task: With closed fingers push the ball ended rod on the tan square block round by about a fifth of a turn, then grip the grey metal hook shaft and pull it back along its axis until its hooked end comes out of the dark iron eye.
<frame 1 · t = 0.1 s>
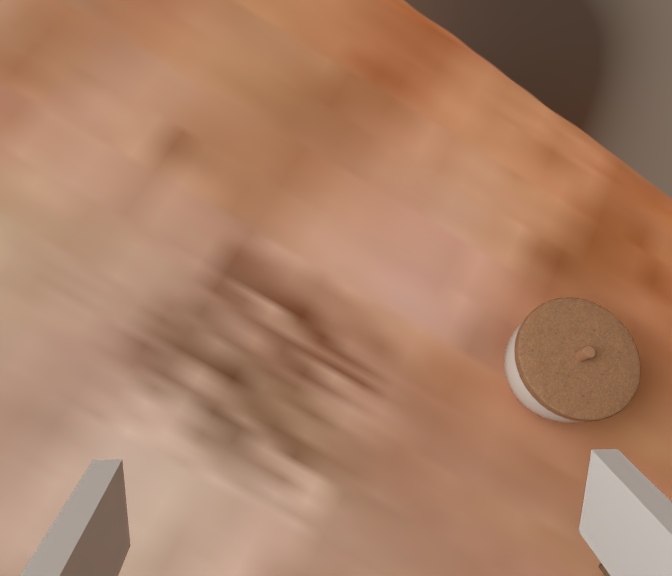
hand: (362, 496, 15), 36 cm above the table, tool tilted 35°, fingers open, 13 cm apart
lidded jar: (541, 375, 55), on the table
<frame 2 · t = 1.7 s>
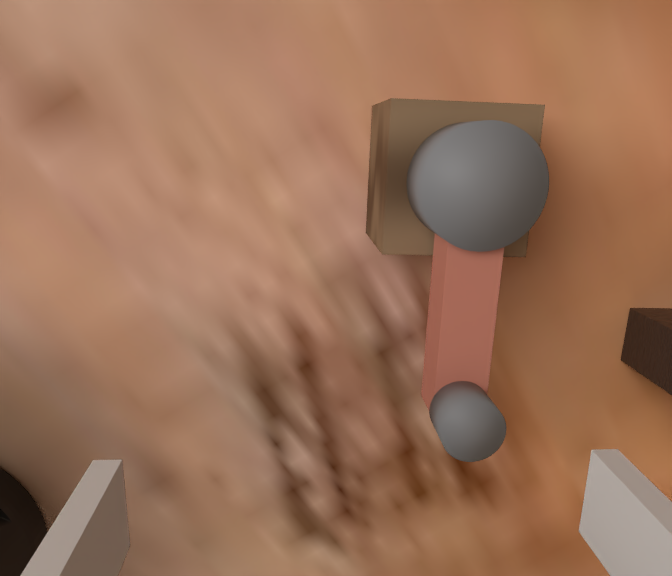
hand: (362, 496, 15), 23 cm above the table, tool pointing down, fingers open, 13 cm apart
tan square block: (430, 173, 36), on the table
ball ended rod: (469, 288, 28), point 10 cm above the table, hinge at 0.0°
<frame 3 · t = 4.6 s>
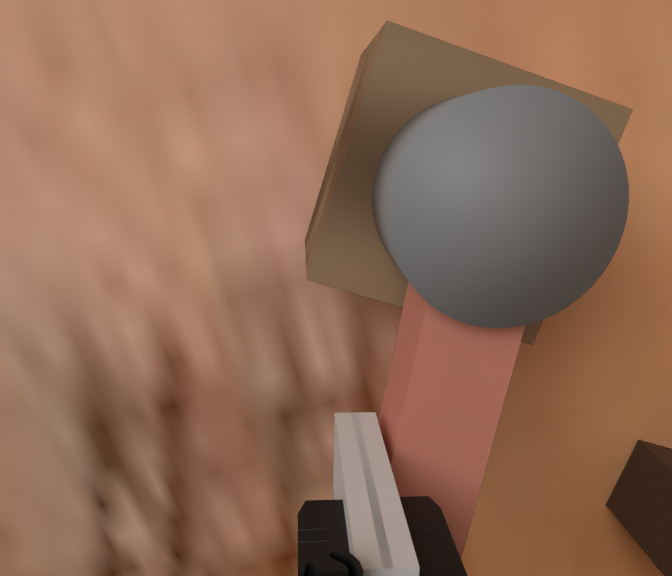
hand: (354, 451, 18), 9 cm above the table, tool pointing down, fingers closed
tan square block: (419, 179, 24), on the table
ball ended rod: (455, 384, 16), point 10 cm above the table, hinge at 7.6°, touching gripper
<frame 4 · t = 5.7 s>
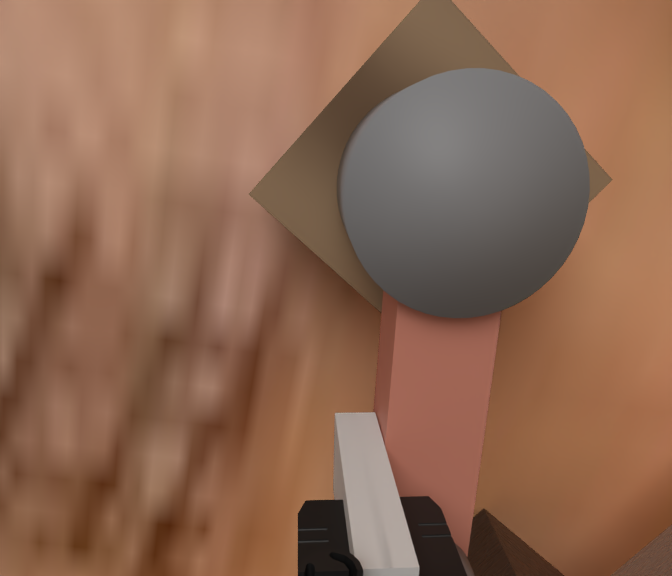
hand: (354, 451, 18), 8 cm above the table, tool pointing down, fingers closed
tan square block: (396, 172, 24), on the table
ball ended rod: (438, 378, 15), point 10 cm above the table, hinge at 39.9°, touching gripper
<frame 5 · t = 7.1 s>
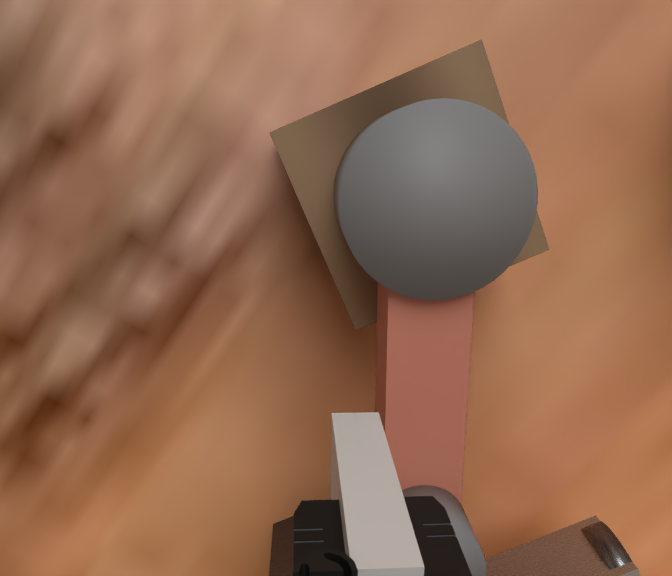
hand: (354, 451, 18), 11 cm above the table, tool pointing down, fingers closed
tan square block: (387, 181, 27), on the table
eye post: (338, 574, 33), on the table
ball ended rod: (426, 352, 19), point 10 cm above the table, hinge at 67.2°
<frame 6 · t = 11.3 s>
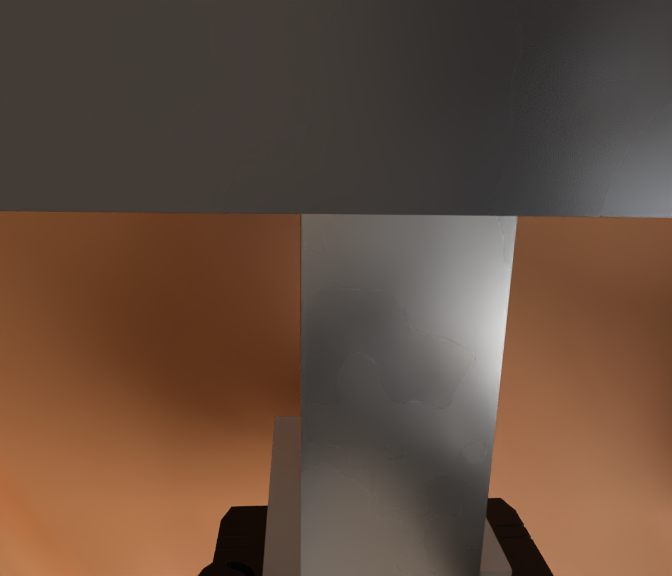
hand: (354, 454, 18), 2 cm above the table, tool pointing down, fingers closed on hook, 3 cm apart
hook: (394, 286, 10), point 7 cm above the table, slide at 0.0 cm, touching gripper
eye post: (359, 90, 16), on the table
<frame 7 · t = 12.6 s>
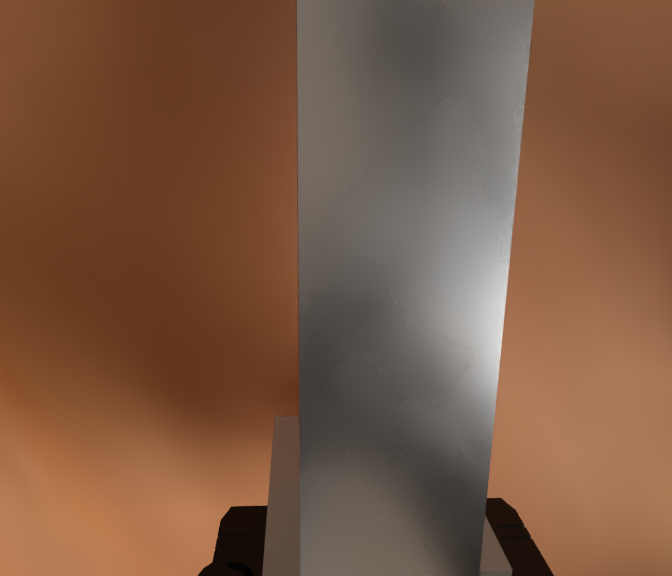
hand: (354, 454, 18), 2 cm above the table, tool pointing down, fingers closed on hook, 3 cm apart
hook: (392, 285, 10), point 7 cm above the table, slide at 5.5 cm, touching gripper
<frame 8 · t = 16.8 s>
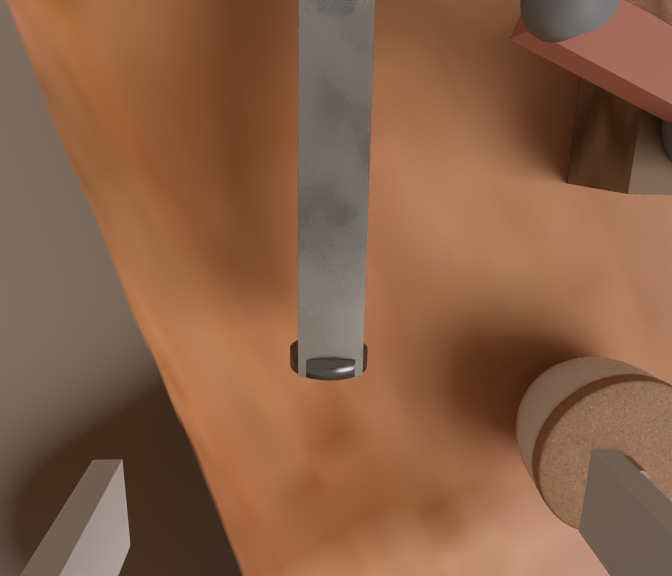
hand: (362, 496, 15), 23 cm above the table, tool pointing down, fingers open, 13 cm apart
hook: (332, 189, 29), point 7 cm above the table, slide at 10.9 cm
tan square block: (634, 121, 36), on the table
lidded jar: (563, 401, 41), on the table
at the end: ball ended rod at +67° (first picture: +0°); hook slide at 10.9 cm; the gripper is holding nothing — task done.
